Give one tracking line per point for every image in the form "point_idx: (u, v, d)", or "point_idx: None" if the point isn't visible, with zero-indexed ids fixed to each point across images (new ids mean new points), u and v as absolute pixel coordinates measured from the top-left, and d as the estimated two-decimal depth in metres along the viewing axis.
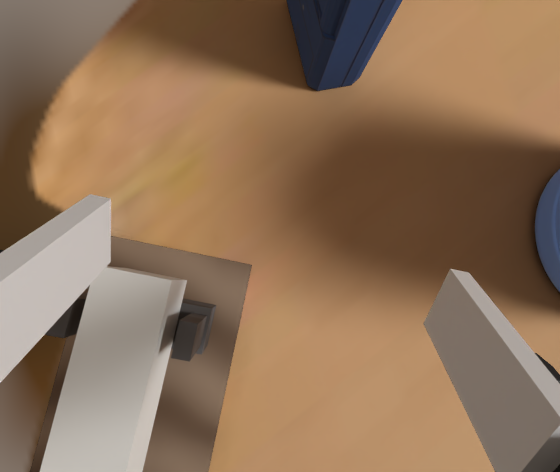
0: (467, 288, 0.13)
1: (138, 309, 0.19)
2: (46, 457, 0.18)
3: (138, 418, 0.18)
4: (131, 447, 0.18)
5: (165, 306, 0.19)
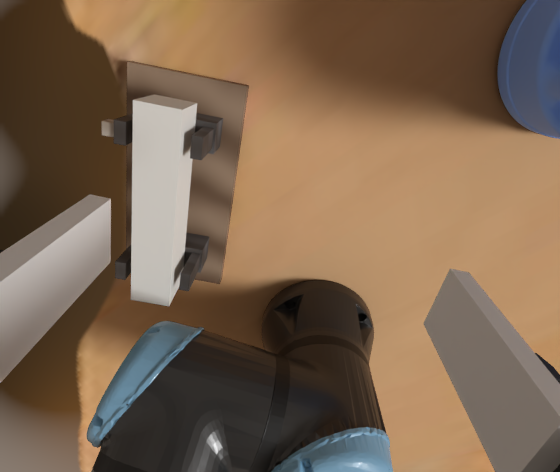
0: (467, 288, 0.13)
1: (165, 129, 0.30)
2: (133, 208, 0.33)
3: (176, 190, 0.33)
4: (175, 205, 0.33)
5: (181, 126, 0.30)
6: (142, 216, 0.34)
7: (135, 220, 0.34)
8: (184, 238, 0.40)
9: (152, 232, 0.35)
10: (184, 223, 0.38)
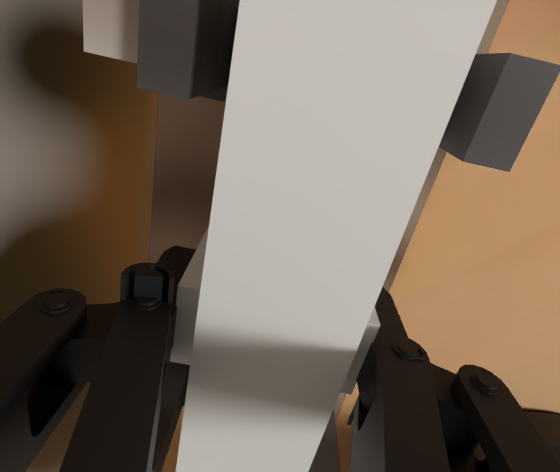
0: None
1: (408, 10, 0.06)
2: (199, 341, 0.09)
3: (379, 288, 0.08)
4: (361, 335, 0.09)
5: (492, 0, 0.06)
6: (227, 366, 0.09)
7: (202, 376, 0.10)
8: None
9: (254, 411, 0.10)
10: None
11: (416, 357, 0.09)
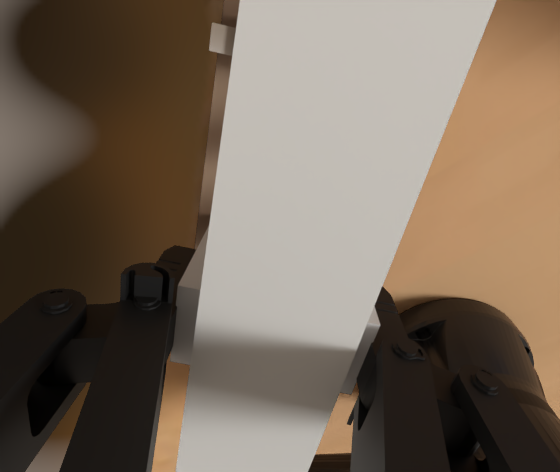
0: None
1: (408, 9, 0.06)
2: (199, 340, 0.09)
3: (378, 287, 0.08)
4: (361, 334, 0.09)
5: None
6: (227, 365, 0.09)
7: (202, 375, 0.10)
8: None
9: (255, 410, 0.10)
10: None
11: (416, 357, 0.09)
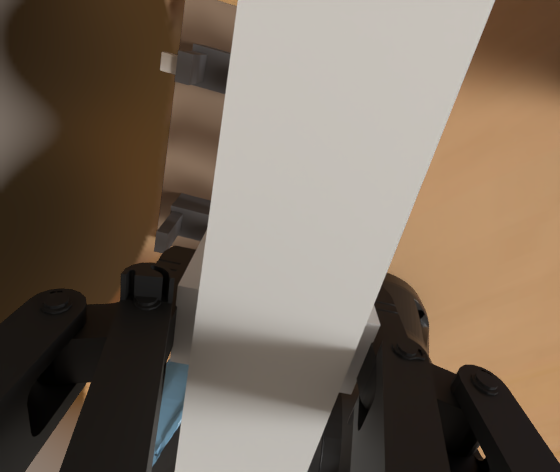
0: None
1: (407, 8, 0.06)
2: (198, 340, 0.09)
3: (378, 287, 0.08)
4: (360, 334, 0.09)
5: None
6: (226, 365, 0.09)
7: (201, 375, 0.10)
8: None
9: (253, 411, 0.10)
10: None
11: (416, 357, 0.09)
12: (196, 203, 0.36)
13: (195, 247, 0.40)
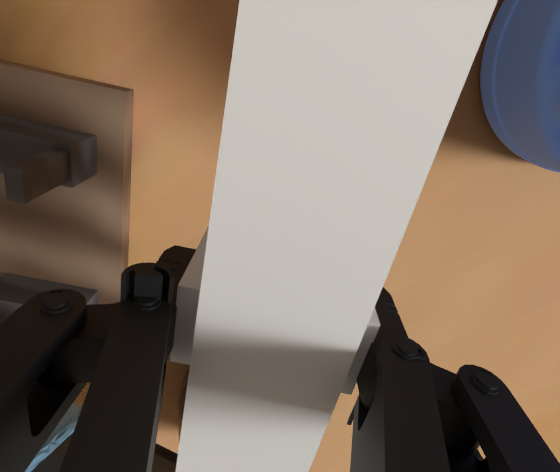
0: None
1: (411, 4, 0.06)
2: (199, 339, 0.09)
3: (380, 286, 0.08)
4: (362, 334, 0.09)
5: None
6: (227, 365, 0.09)
7: (202, 374, 0.10)
8: None
9: (255, 411, 0.10)
10: None
11: (416, 357, 0.09)
12: (17, 286, 0.31)
13: None
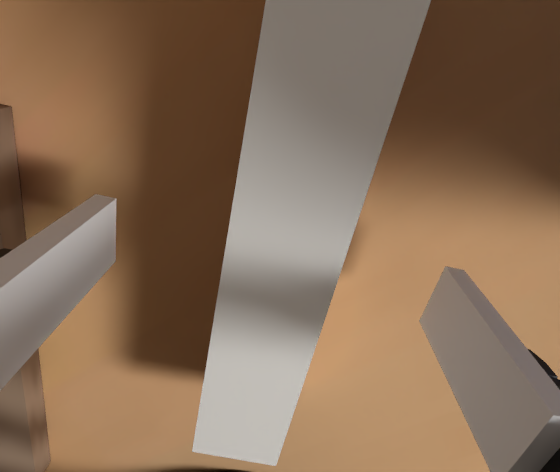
0: (461, 286, 0.13)
1: (369, 25, 0.09)
2: (227, 261, 0.12)
3: (356, 219, 0.12)
4: (344, 257, 0.12)
5: (422, 19, 0.09)
6: (247, 282, 0.13)
7: (228, 291, 0.13)
8: None
9: (266, 321, 0.14)
10: None
11: None
12: None
13: None
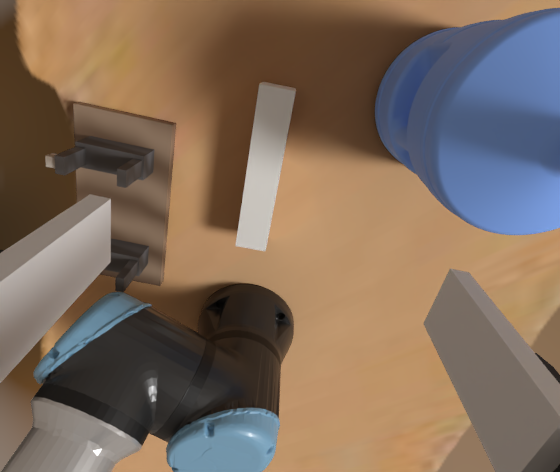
0: (467, 288, 0.13)
1: (280, 106, 0.40)
2: (248, 169, 0.43)
3: (283, 155, 0.42)
4: (281, 166, 0.43)
5: None
6: (253, 176, 0.44)
7: (248, 179, 0.44)
8: None
9: (260, 189, 0.44)
10: None
11: None
12: None
13: (109, 272, 0.54)
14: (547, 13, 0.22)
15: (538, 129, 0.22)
